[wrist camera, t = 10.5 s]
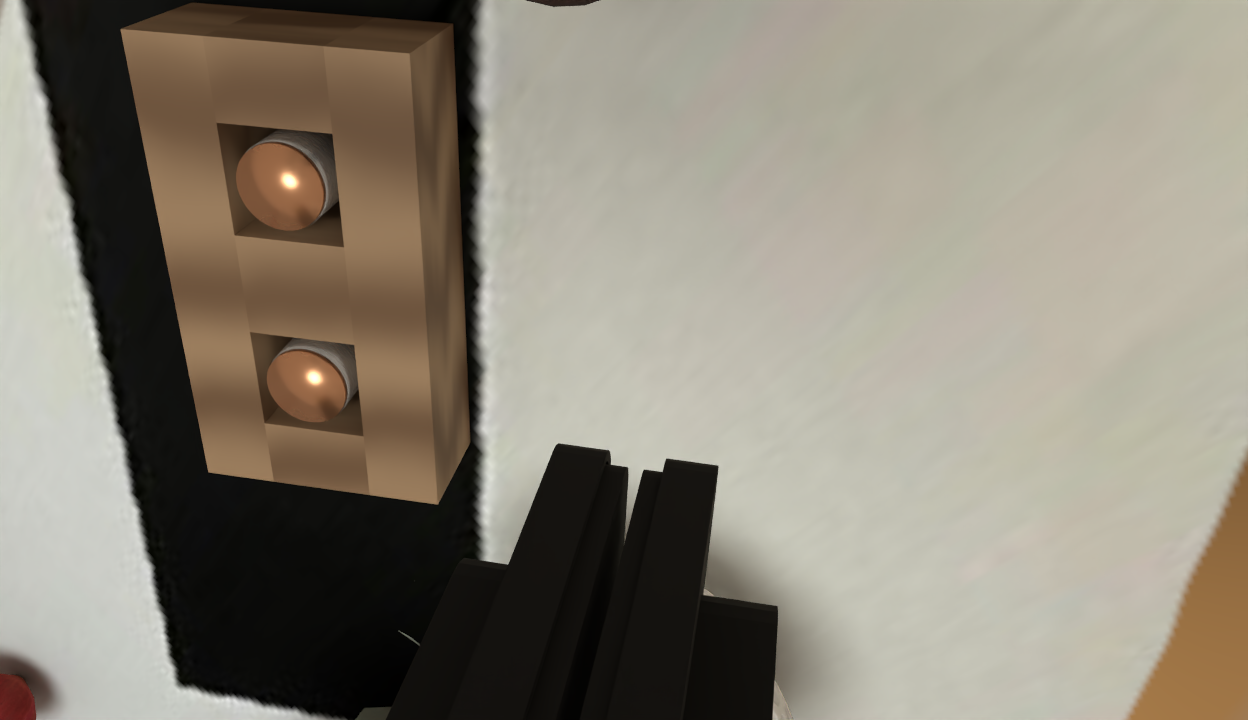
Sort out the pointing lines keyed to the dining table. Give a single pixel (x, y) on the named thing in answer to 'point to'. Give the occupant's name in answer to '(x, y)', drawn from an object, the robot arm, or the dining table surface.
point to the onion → (16, 699)
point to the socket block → (313, 237)
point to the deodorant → (563, 2)
